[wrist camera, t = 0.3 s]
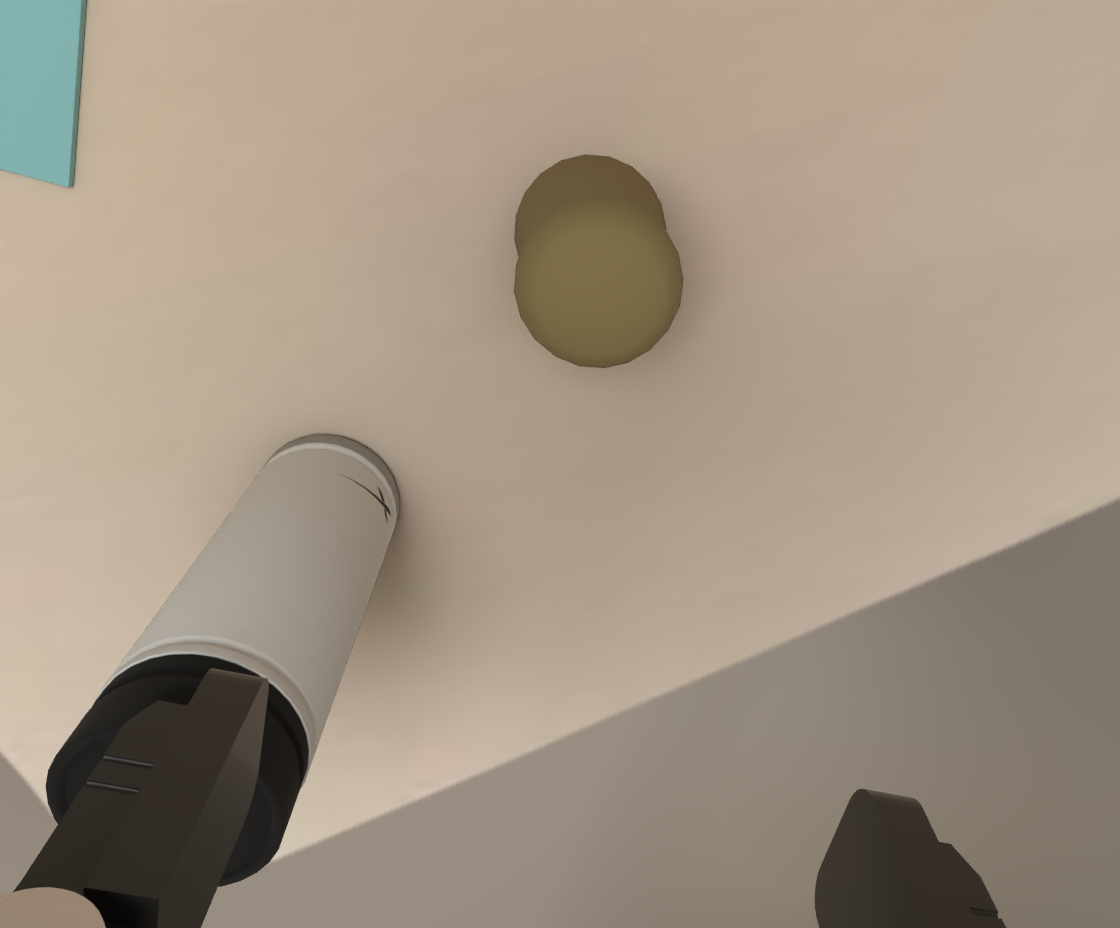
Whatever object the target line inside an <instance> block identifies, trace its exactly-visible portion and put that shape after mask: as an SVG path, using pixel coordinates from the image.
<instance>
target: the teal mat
mask: <svg viewBox="0 0 1120 928" xmlns="http://www.w3.org/2000/svg"><path fill="white" fill-rule="evenodd" d="M86 1H87V0H0V169H1V170H5V171H8V172H12V173H16V174H20V175H24V176H27V177H31V178H35V179H39V180H42V181H46V182H50V183H54V184H58V185H61V186H65V187H72V186H73V183H74V169H75V155H76V141H77V127H78V113H79V99H80V85H81V71H82V57H83V43H84V29H85V15H86Z"/></svg>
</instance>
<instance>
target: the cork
mask: <svg viewBox="0 0 1120 928" xmlns="http://www.w3.org/2000/svg"><path fill="white" fill-rule="evenodd" d="M514 240H515V244H516V248H517V252H518V256H519V258H518V261H517V264H516V272H515V288H514V293H515V297H516V301H517V305H518V309H519V313H520V316H521V319H522V320H523V322H524V323H525V325H526V326H527V328H528V329H529V331H530V333H531V334H532V336H533V337H534V339H535V340H536V341H538V342H539V343H540V344H541V345H542V346H544V347H545V348H546V349H547V350H548V351H550V352H551V353H552V354H553V355H555V356H556V357H558V358H560V359H563V360H565V361H568V362H570V363H573V364H575V365H578V366H585V367H598V368H606V367H611V366H615V365H619V364H624V363H628V362H630V361H632V360H633V359H635V358H637V357H639V356H640V355H642V354H644V353H646V352H647V351H649V350H650V349H651V348H652V347H653V346H654V345H655V344H656V343H657V342H658V341H659V340H660V339H661V337H662V336H663V335H664V334H665V333H666V332H667V331H668V329H669V327H670V325H671V323H672V321H673V319H674V317H675V315H676V313H677V311H678V308H679V306H680V301H681V293H682V286H683V275H682V270H681V264H680V259H679V254H678V252H677V250H676V248H675V246H674V245H673V243H672V241H671V239H670V237H669V236H668V234H667V232H666V226H665V221H664V215H663V210H662V205H661V203H660V201H659V199H658V197H657V195H656V194H655V192H654V190H653V188H652V186H651V185H650V183H649V182H648V181H647V180H646V179H645V178H644V177H643V176H641V175H640V174H639V173H638V172H637V171H636V170H635V169H634V168H633V167H632V166H629V165H627V164H625V163H622V162H620V161H618V160H616V159H613V158H611V157H607V156H595V155H582V156H578V157H574V158H569V159H565V160H561V161H560V162H558V163H557V164H555V165H553V166H552V167H550V168H549V169H547V170H546V171H544V172H542V173H541V174H540V175H539V176H538V177H537V179H536V180H535V181H534V182H533V183H532V185H531V186H530V187H529V188H528V190H527V191H526V192H525V194H524V196H523V199H522V201H521V204H520V206H519V209H518V212H517V214H516V223H515V239H514Z"/></svg>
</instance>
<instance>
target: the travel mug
mask: <svg viewBox="0 0 1120 928" xmlns="http://www.w3.org/2000/svg"><path fill="white" fill-rule="evenodd" d="M399 508H400V502H399V492H398V489H397V486H396V483H395V480H394V478H393V476H392V475H391V473H390V471H389V469H388V468H387V467H386V465H385V464H384V463H383V462H382V461H381V459H380V458H379V457H378V456H376V455H375V454H374V453H373V452H371V451H370V450H369V449H368V448H366V447H364V446H362V445H360V444H359V443H357V442H355V441H352V440H349V439H346V438H343V437H339V436H333V435H311V436H307V437H302V438H298V439H296V440H294V441H292V442H289V443H287V444H286V445H284V446H283V447H282V448H280V449H279V450H277V451H276V452H275V453H274V454H273V456H272V457H271V458H270V459H269V460H268V461H267V463H266V464H265V465H264V467H263V468H262V470H261V471H260V473H259V474H258V475H257V476H256V478H255V479H254V481H253V482H252V483H251V485H250V486H249V487H248V489H247V490H246V492H245V493H244V494H243V496H242V497H241V498H240V500H239V501H238V502H237V504H236V505H235V507H234V508H233V509H232V511H231V512H230V513H229V515H228V516H227V518H226V519H225V520H224V522H223V523H222V524H221V526H220V527H219V529H218V530H217V531H216V533H215V534H214V535H213V537H212V538H211V540H210V541H209V542H208V544H207V545H206V546H205V548H204V549H203V551H202V552H201V553H200V555H199V556H198V557H197V559H196V560H195V562H194V563H193V564H192V566H191V567H190V568H189V570H188V571H187V573H186V574H185V575H184V577H183V578H182V579H181V581H180V582H179V583H178V585H177V586H176V588H175V589H174V590H173V592H172V593H171V594H170V596H169V597H168V599H167V600H166V601H165V603H164V604H163V605H162V607H161V608H160V610H159V611H158V612H157V614H156V615H155V616H154V618H153V619H152V621H151V622H150V623H149V625H148V626H147V627H146V629H145V630H144V632H143V633H142V634H141V636H140V637H139V638H138V640H137V641H136V643H135V644H134V645H133V647H132V648H131V649H130V651H129V652H128V654H127V655H126V656H125V658H124V659H123V660H122V662H121V663H120V664H119V666H118V667H117V669H116V670H115V672H114V674H113V675H112V677H111V678H110V679H109V680H108V681H107V682H106V684H105V685H104V686H103V688H102V690H101V691H100V693H99V695H98V697H97V699H96V701H95V703H94V705H93V706H92V708H91V709H90V710H89V711H88V712H87V713H86V715H85V716H84V718H83V719H82V720H81V722H80V723H79V724H78V726H77V727H76V729H75V730H74V731H73V733H72V734H71V736H70V737H69V738H68V740H67V741H66V742H65V744H64V745H63V747H62V748H61V749H60V751H59V752H58V754H57V755H56V756H55V758H54V760H53V762H52V764H51V766H50V768H49V770H48V775H47V782H46V792H47V799H48V804H49V807H50V809H51V812H52V814H53V816H54V819H55V820H56V822H57V823H58V824H59V822H60V821H61V819H62V818H63V816H64V815H65V813H66V812H67V810H68V809H69V807H70V806H71V804H72V803H73V801H74V799H75V798H76V796H77V795H78V793H79V792H80V790H81V789H82V787H85V786H86V783H87V780H88V778H89V776H90V775H91V773H92V772H93V770H94V769H95V767H96V766H97V764H98V763H99V761H102V760H103V757H104V753H105V752H106V750H107V749H108V747H109V746H110V744H111V743H112V741H113V740H114V738H115V737H116V735H117V734H118V732H119V730H120V729H121V727H122V726H123V724H124V723H126V722H127V721H129V720H130V719H131V718H133V717H134V716H136V715H137V714H139V713H140V712H142V711H143V710H144V709H146V708H147V707H149V706H150V705H152V704H153V703H155V702H156V701H157V700H159V701H165V702H171V703H176V704H182V705H187V706H188V704H189V702H190V701H191V699H192V697H193V695H194V694H195V692H196V690H197V688H198V687H199V685H200V683H201V681H202V680H203V678H204V676H205V675H206V673H207V672H208V671H209V670H210V669H211V668H214V669H219V670H225V671H230V672H235V673H241V674H246V675H252V676H257V677H263V678H267V679H268V681H269V691H268V699H267V707H266V715H265V723H264V731H263V739H262V747H261V755H260V763H259V771H258V776H257V781H256V786H255V790H254V794H253V798H252V801H251V804H250V808H249V811H248V814H247V816H246V819H245V822H244V824H243V827H242V829H241V831H240V834H239V836H238V839H237V841H236V843H235V846H234V848H233V851H232V853H231V856H230V858H229V860H228V863H227V865H226V868H225V870H224V872H223V875H222V877H221V880H220V882H219V885H218V886H225V885H228V884H232V883H235V882H238V881H241V880H243V879H245V878H247V877H249V876H251V875H253V874H255V873H257V872H258V871H259V870H260V869H261V868H263V867H264V866H265V865H266V864H268V863H269V862H270V861H271V859H272V858H273V856H274V855H275V854H276V852H277V851H278V849H279V847H280V844H281V841H282V838H283V835H284V833H285V830H286V827H287V824H288V821H289V819H290V816H291V813H292V810H293V807H294V805H295V802H296V799H297V796H298V793H299V791H300V789H301V787H302V786H303V784H304V782H305V780H306V777H307V774H308V771H309V768H310V765H311V763H312V760H313V757H314V754H315V751H316V748H317V746H318V743H319V740H320V737H321V734H322V732H323V729H324V726H325V723H326V720H327V717H328V715H329V712H330V709H331V706H332V703H333V700H334V698H335V695H336V692H337V689H338V686H339V684H340V681H341V678H342V675H343V672H344V669H345V667H346V664H347V661H348V658H349V655H350V653H351V650H352V647H353V644H354V641H355V638H356V636H357V633H358V630H359V627H360V624H361V621H362V619H363V616H364V613H365V610H366V607H367V605H368V602H369V599H370V596H371V593H372V590H373V588H374V585H375V582H376V579H377V576H378V573H379V571H380V568H381V565H382V562H383V559H384V557H385V554H386V551H387V548H388V545H389V542H390V540H391V537H392V534H393V531H394V528H395V525H396V523H397V520H398V516H399Z"/></svg>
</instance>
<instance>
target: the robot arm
mask: <svg viewBox="0 0 1120 928" xmlns="http://www.w3.org/2000/svg"><path fill="white" fill-rule="evenodd" d="M268 691H269V681H268V679H267V678H263V677H257V676H252V675H246V674H241V673H235V672H230V671H225V670H219V669H214V668H211V669H210V670H209V671H208V672H207V673H206V675H205V676H204V678H203V680H202V681H201V683H200V685H199V687H198V688H197V690H196V692H195V694H194V695H193V697H192V699H191V701H190V702H189V704H188V706H187V705H182V704H176V703H171V702H165V701H159V700H157V701H156V702H155V703H153V704H152V705H150V706H149V707H147V708H146V709H144V710H143V711H142V712H140V713H139V714H137V715H136V716H134V717H133V718H131V719H130V720H129V721H127V722H126V723H124V724H123V726H122V727H121V729H120V730H119V732H118V734H117V735H116V737H115V738H114V740H113V741H112V743H111V744H110V746H109V747H108V749H107V750H106V752H105V753H104V757H103V760H102V761H99V763H98V764H97V766H96V767H95V769H94V770H93V772H92V773H91V775H90V776H89V778H88V780H87V783H86V786H85V787H82V789H81V790H80V792H79V793H78V795H77V796H76V798H75V799H74V801H73V803H72V804H71V806H70V807H69V809H68V810H67V812H66V813H65V815H64V816H63V818H62V819H61V821H60V822H59V824H58V826H57V827H56V829H55V830H54V832H53V833H52V835H51V836H50V838H49V839H48V841H47V842H46V844H45V846H44V847H43V849H42V850H41V852H40V853H39V855H38V856H37V858H36V859H35V861H34V862H33V864H32V865H31V867H30V868H29V870H28V872H27V873H26V875H25V876H24V878H23V879H22V881H21V882H20V884H19V885H18V886H17V887H16V889H15V890H14V891H13V892H12V893H9V894H6V895H4V896H1V897H0V928H201V926H202V923H203V921H204V918H205V916H206V914H207V911H208V909H209V906H210V904H211V901H212V899H213V897H214V894H215V892H216V889H217V887H218V885H219V882H220V880H221V877H222V875H223V872H224V870H225V868H226V865H227V863H228V860H229V858H230V856H231V853H232V851H233V848H234V846H235V843H236V841H237V839H238V836H239V834H240V831H241V829H242V827H243V824H244V822H245V819H246V816H247V814H248V811H249V808H250V804H251V801H252V798H253V794H254V790H255V786H256V781H257V776H258V771H259V763H260V755H261V747H262V739H263V731H264V723H265V715H266V707H267V699H268ZM815 910H816V916H817V920H818V924H819V928H1006V927H1005V925H1004V923H1003V921H1002V919H999V918H998V916H997V914H998V911H997V909H996V907H995V905H994V903H993V901H992V899H991V897H990V895H989V893H988V891H987V889H986V887H985V885H984V883H983V881H982V879H981V877H980V876H979V875H978V874H977V873H976V872H975V870H974V869H973V868H972V867H971V866H970V865H969V864H968V863H967V862H966V861H965V859H964V858H963V857H962V856H961V855H960V854H959V853H958V852H957V851H956V850H955V848H954V847H953V846H952V845H951V844H947V843H942V842H939V841H938V840H937V837H936V835H935V833H934V831H933V829H932V827H931V825H930V822H929V820H928V818H927V816H926V814H925V812H924V810H923V808H922V806H921V804H920V803H919V802H918V801H917V800H916V799H914V798H910V797H905V796H899V795H893V794H888V793H883V792H877V791H871V790H866V789H859V790H857V791H856V792H855V793H854V794H853V795H852V797H851V799H850V801H849V803H848V805H847V808H846V810H845V812H844V814H843V817H842V819H841V821H840V823H839V826H838V828H837V830H836V833H835V835H834V837H833V839H832V842H831V844H830V846H829V848H828V851H827V853H826V855H825V858H824V860H823V862H822V864H821V867H820V870H819V872H818V876H817V881H816V889H815Z"/></svg>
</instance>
